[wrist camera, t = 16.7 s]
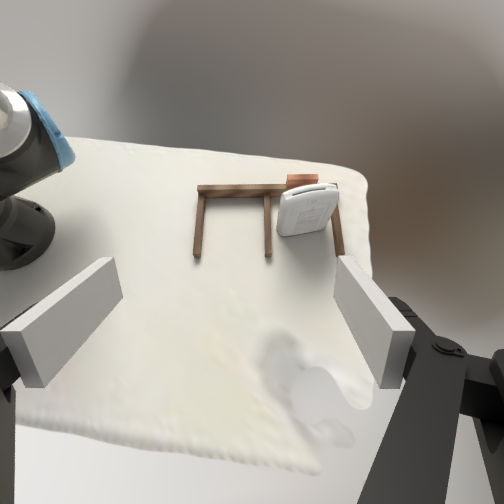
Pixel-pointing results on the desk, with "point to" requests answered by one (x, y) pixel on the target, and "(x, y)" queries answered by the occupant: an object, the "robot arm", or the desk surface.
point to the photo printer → (306, 208)
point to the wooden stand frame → (265, 192)
